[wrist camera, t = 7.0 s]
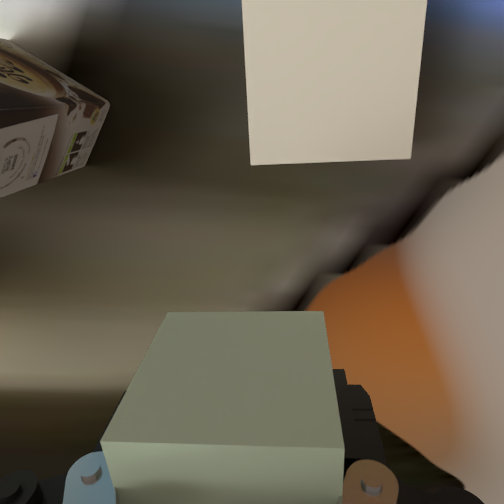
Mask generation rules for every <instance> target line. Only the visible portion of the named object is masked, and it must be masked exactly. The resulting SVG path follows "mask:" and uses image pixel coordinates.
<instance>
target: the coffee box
mask: <svg viewBox="0 0 504 504" xmlns="http://www.w3.org/2000/svg"><path fill="white" fill-rule="evenodd" d="M109 107H110V103H109V102H108V101H107V100H106V99H104V98H102V97H101V96H99V95H98V94H96V93H94V92H93V91H91V90H89V89H88V88H86V87H85V86H83V85H81V84H80V83H78V82H76V81H75V80H73V79H71V78H70V77H68V76H66V75H65V74H63V73H62V72H60V71H58V70H57V69H55V68H54V67H52V66H50V65H49V64H47V63H45V62H44V61H42V60H41V59H39V58H37V57H36V56H34V55H32V54H31V53H29V52H28V51H26V50H24V49H23V48H21V47H19V46H18V45H16V44H15V43H13V42H11V41H9V40H6V39H0V198H2V197H4V196H7V195H10V194H12V193H15V192H18V191H20V190H23V189H25V188H28V187H31V186H34V185H36V184H39V183H41V182H44V181H47V180H50V179H52V178H55V177H58V176H60V175H63V174H65V173H68V172H71V171H73V170H76V169H79V168H82V167H84V166H85V165H86V163H87V160H88V158H89V156H90V153H91V151H92V148H93V146H94V144H95V142H96V139H97V137H98V134H99V132H100V130H101V127H102V125H103V123H104V120H105V118H106V115H107V113H108V110H109Z"/></svg>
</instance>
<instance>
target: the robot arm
mask: <svg viewBox="0 0 504 504" xmlns="http://www.w3.org/2000/svg"><path fill="white" fill-rule="evenodd" d="M332 371H333V377H334V384H335V390H336V396H337V403H338V409H339V416H340V422H341V428H342V435H343V441H344V448H345V452H344V473H343V493H342V496H339V497H338V500H337V503H336V504H484V503H483V502H482V501H481V500H480V499H479V498H478V497H476V496H475V495H473V494H472V493H470V492H468V491H466V490H464V489H461V488H457V487H444V488H441V489H439V490H438V491H437V492H436V493H435V494H434V495H433V494H430V493H427V492H424V491H421V490H418V489H415V488H413V487H410V486H408V485H407V484H405V483H403V482H402V481H401V480H399V479H398V478H397V477H396V476H395V475H394V474H393V472H392V471H391V469H390V468H389V466H388V463H387V460H386V457H385V453H384V449H383V445H382V441H381V437H380V434H379V430H378V426H377V422H376V418H375V415H374V412H373V407H372V403H371V399H370V396H369V395H368V394H367V392H366V391H365V390H364V389H363V387H362V386H361V385H347V380H346V375H345V371H344V369H332ZM126 391H127V390H126ZM126 391H125V392H124V394H123V396H122V397H121V399H120V401H119V403H118V406H119V404H120V402H121V401H122V399H123V397H124V395H125V393H126ZM118 406H117V407H116V409H115V411H114V413H113V416H114V414H115V412H116V410H117V408H118ZM113 416H111V418H110V420H109V422H108V424H107V426H106V428H105V430H104V432H103V433H102V435H101V437H100V439H99V441H98V443H97V445H96V447H95V449H94V450H93V452H92V453H90V454H88V455H86V456H84V457H82V458H81V459H79V460H78V461H77V462H76V463H75V464H74V465H73V466H72V467H71V468H70V470H69V472H68V473H66V474H63V475H59V476H55V477H51V478H48V479H44V480H40V481H38V479H37V476H36V475H35V473H33V472H32V471H29V470H20V471H16V472H13V473H10V474H8V475H6V476H4V477H3V478H1V479H0V504H119V497H118V494H117V490H116V487H113V484H112V480H111V477H110V473H109V470H108V467H107V463H106V460H105V456H104V453H103V450H102V446H101V443H100V441H101V439H102V437H103V435H104V433H105V431H106V429H107V427H108V425H109V423H110V422H111V420H112V418H113Z"/></svg>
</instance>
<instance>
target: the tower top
mask: <svg viewBox="0 0 504 504" xmlns="http://www.w3.org/2000/svg"><path fill="white" fill-rule="evenodd" d="M426 7H427V0H242V13H243V32H244V50H245V69H246V87H247V106H248V124H249V143H250V161H251V165H267V164H292V163H317V162H342V161H367V160H392V159H411V150H412V141H413V131H414V122H415V112H416V102H417V93H418V83H419V74H420V64H421V55H422V45H423V35H424V26H425V16H426Z"/></svg>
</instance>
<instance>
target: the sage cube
mask: <svg viewBox="0 0 504 504" xmlns="http://www.w3.org/2000/svg"><path fill="white" fill-rule="evenodd" d="M100 443H101V446H102V450H103V453H104V456H105V460H106V463H107V467H108V470H109V473H110V477H111V480H112V484H113V487H116V490H117V494H118V497H119V504H336V503H337V500H338V497H339V496H342V493H343V473H344V452H345V448H344V441H343V435H342V428H341V422H340V416H339V409H338V403H337V396H336V390H335V384H334V377H333V371H332V364H331V359H330V352H329V345H328V339H327V332H326V326H325V320H324V314H323V311H274V312H168V313H167V315H166V317H165V318H164V320H163V322H162V324H161V326H160V328H159V330H158V332H157V334H156V336H155V338H154V339H153V341H152V343H151V345H150V347H149V349H148V351H147V353H146V355H145V357H144V359H143V360H142V362H141V364H140V366H139V368H138V370H137V372H136V374H135V376H134V378H133V380H132V381H131V383H130V385H129V387H128V389H127V391H126V393H125V395H124V397H123V399H122V401H121V402H120V404H119V406H118V408H117V410H116V412H115V414H114V416H113V418H112V420H111V422H110V423H109V425H108V427H107V429H106V431H105V433H104V435H103V437H102V439H101V441H100Z"/></svg>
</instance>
